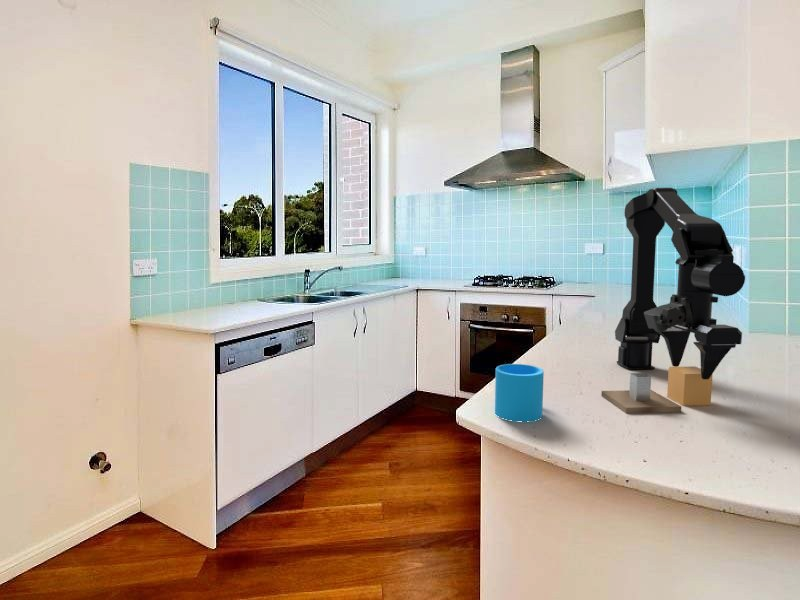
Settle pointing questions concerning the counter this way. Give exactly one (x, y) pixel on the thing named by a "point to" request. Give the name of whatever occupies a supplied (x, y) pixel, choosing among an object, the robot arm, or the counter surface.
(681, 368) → the tan wooden cube
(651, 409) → the walnut base
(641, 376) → the grey concrete cube
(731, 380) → the counter surface
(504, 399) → the mug
